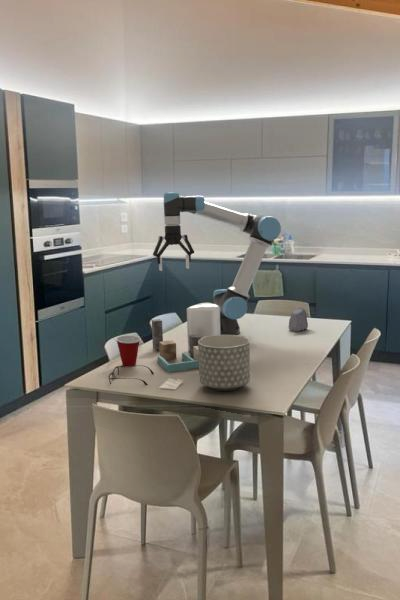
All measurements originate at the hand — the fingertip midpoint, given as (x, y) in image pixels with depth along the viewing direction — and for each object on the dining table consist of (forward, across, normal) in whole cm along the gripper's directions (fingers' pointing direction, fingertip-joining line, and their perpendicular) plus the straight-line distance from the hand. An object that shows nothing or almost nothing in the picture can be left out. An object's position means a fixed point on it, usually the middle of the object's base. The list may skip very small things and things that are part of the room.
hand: (174, 269), depth 275 cm
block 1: (+37, +12, +15) cm, 41 cm away
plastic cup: (+37, +30, +26) cm, 54 cm away
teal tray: (+37, +6, +35) cm, 51 cm away
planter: (+37, +4, +71) cm, 80 cm away
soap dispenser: (+37, -10, +17) cm, 42 cm away
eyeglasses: (+37, +34, +46) cm, 68 cm away
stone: (+37, -66, +2) cm, 76 cm away
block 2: (+37, +1, +33) cm, 49 cm away
